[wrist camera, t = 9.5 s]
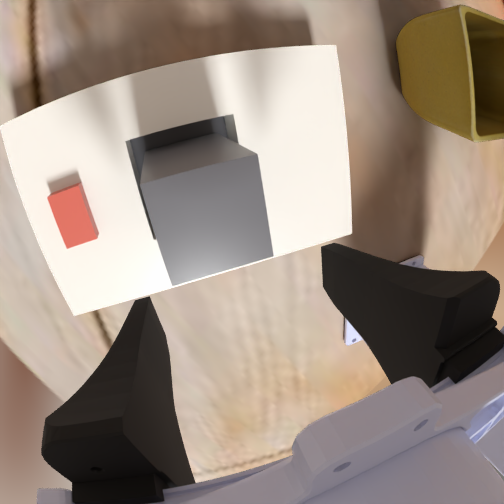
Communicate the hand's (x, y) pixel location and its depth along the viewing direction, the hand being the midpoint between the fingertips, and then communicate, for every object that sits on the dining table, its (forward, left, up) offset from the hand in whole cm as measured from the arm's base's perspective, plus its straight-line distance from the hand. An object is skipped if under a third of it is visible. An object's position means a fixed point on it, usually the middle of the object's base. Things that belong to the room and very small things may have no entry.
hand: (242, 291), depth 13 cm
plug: (0, -3, -10) cm, 10 cm away
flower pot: (-20, -8, -11) cm, 24 cm away
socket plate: (0, -3, -10) cm, 11 cm away
